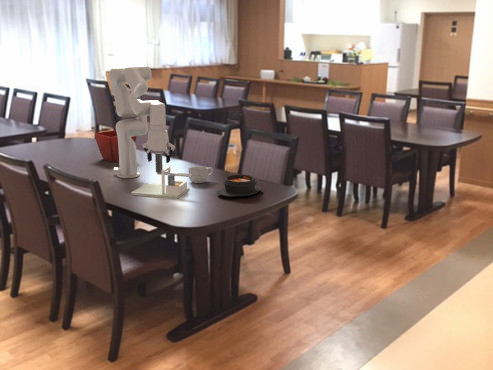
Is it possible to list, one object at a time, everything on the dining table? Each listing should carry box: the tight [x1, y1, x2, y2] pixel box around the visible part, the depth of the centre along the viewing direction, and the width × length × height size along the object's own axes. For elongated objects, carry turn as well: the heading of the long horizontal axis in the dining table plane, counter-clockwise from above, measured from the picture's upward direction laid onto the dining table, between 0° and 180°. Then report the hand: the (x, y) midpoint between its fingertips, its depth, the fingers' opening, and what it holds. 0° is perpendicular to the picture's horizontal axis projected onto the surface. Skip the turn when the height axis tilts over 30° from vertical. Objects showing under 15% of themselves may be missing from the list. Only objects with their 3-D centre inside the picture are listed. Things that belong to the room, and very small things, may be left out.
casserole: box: [216, 174, 263, 198], centre depth 286 cm, size 25×19×8 cm
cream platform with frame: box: [131, 166, 190, 200], centre depth 286 cm, size 24×18×13 cm
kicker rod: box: [154, 152, 192, 186], centre depth 284 cm, size 18×5×18 cm, turn 76°
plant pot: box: [94, 129, 137, 163], centre depth 355 cm, size 19×19×17 cm
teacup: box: [187, 165, 214, 184], centre depth 307 cm, size 14×11×8 cm
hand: (158, 161), depth 284 cm, fingers open, 9 cm apart
